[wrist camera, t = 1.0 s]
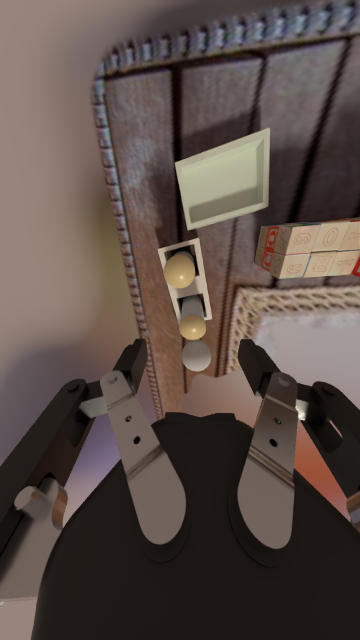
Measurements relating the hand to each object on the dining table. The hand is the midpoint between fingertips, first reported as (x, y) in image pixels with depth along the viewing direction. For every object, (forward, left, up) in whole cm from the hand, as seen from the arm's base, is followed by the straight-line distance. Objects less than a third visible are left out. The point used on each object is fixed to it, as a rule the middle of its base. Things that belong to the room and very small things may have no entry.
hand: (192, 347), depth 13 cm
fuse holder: (+1, -1, -20) cm, 20 cm away
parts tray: (-7, -14, -20) cm, 25 cm away
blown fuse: (+1, -5, -20) cm, 21 cm away
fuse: (+1, +4, -20) cm, 21 cm away
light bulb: (+2, +12, -20) cm, 24 cm away
